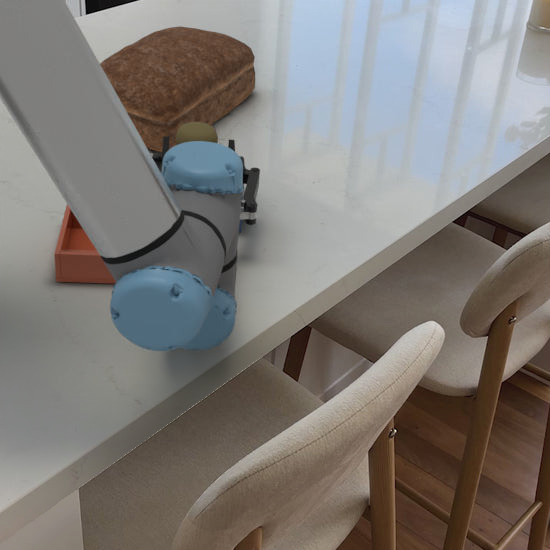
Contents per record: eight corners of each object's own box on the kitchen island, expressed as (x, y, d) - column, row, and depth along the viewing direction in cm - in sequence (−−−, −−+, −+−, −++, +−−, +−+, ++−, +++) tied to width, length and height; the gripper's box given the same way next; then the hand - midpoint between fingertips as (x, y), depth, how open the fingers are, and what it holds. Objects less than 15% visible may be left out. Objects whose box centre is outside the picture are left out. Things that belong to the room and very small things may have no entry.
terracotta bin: (56, 282, 99) (54, 253, 97) (68, 229, 109) (67, 202, 106) (156, 285, 100) (157, 257, 98) (160, 233, 110) (161, 206, 108)
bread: (72, 130, 131) (68, 56, 124) (173, 70, 153) (175, 4, 147) (171, 161, 126) (173, 85, 119) (262, 93, 148) (267, 26, 142)
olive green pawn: (178, 218, 112) (180, 139, 106) (165, 195, 116) (166, 118, 110) (224, 212, 114) (228, 134, 108) (209, 190, 118) (212, 114, 112)
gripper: (103, 266, 98) (119, 169, 117) (287, 272, 100) (274, 176, 119) (101, 207, 94) (118, 116, 113) (294, 215, 96) (279, 125, 115)
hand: (198, 147), depth 116 cm, fingers open, 8 cm apart
